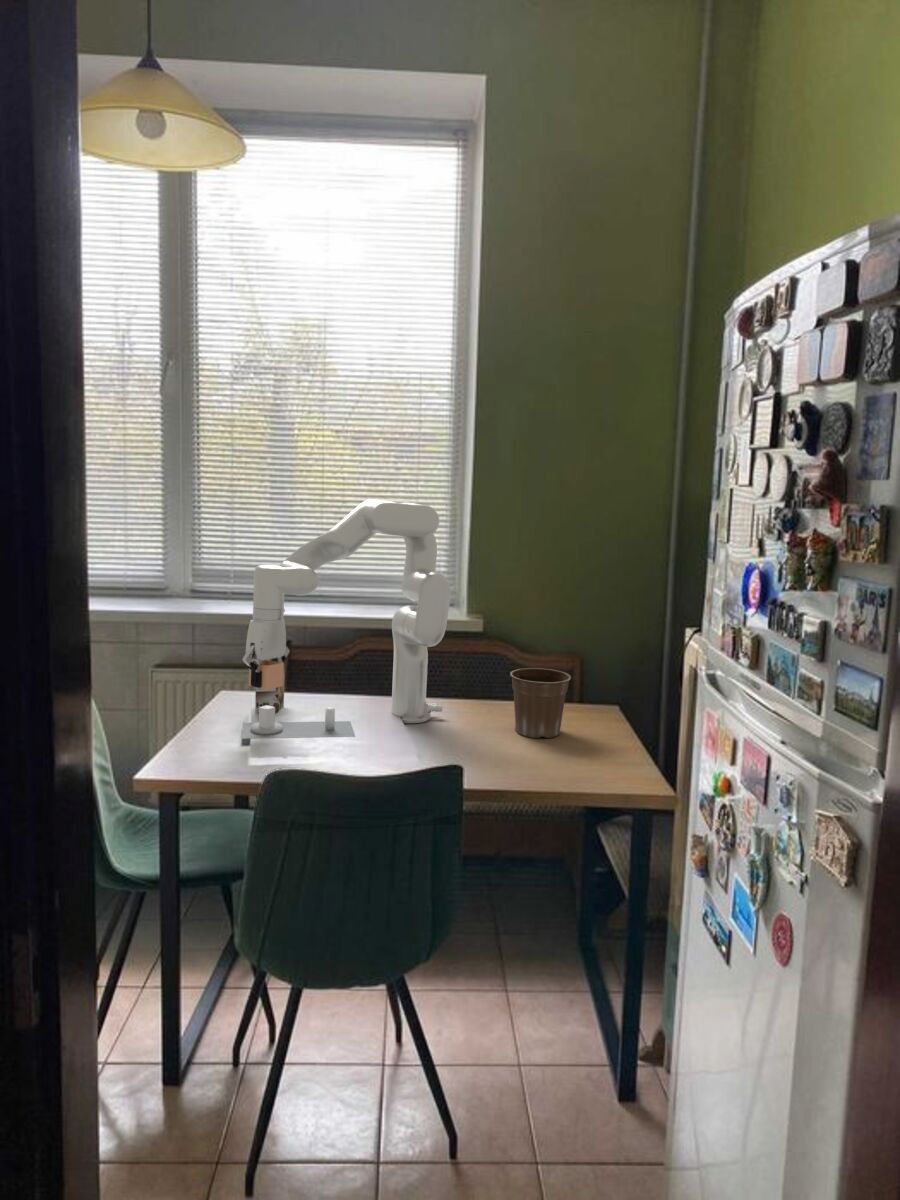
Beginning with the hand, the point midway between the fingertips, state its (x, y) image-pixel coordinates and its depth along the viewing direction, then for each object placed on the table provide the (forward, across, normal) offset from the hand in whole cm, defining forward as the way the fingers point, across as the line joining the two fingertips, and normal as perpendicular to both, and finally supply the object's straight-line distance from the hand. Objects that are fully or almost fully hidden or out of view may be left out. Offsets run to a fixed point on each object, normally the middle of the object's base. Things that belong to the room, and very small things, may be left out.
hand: (265, 683), depth 220 cm
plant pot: (+13, -51, +52) cm, 74 cm away
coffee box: (+14, -16, -13) cm, 25 cm away
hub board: (+14, -6, +6) cm, 16 cm away
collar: (+1, 0, 0) cm, 1 cm away
